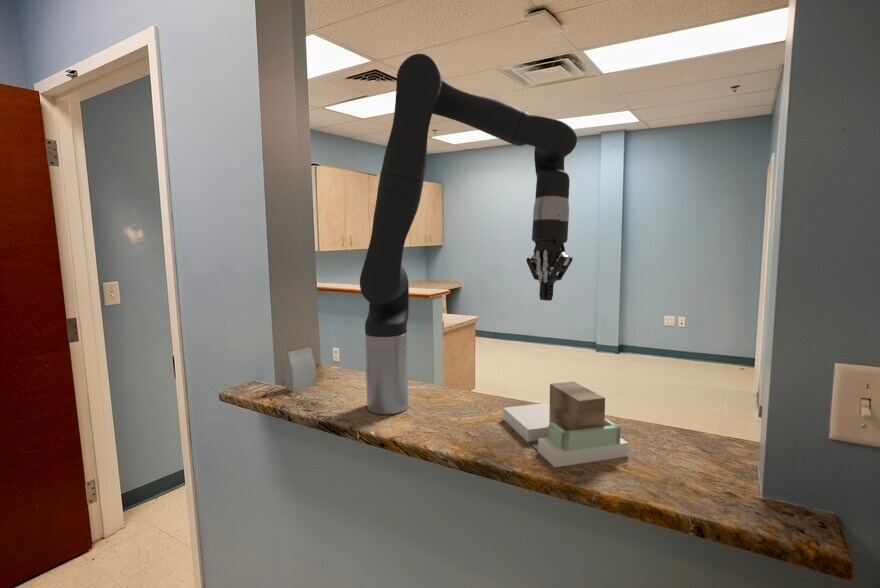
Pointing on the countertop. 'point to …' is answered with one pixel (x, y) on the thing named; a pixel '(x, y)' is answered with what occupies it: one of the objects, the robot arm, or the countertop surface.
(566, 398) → the walnut block
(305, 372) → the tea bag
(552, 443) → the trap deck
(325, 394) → the countertop surface
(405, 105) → the robot arm
